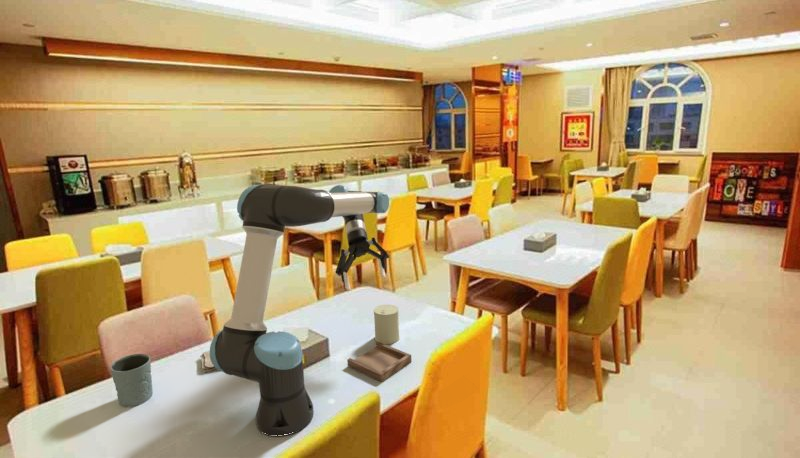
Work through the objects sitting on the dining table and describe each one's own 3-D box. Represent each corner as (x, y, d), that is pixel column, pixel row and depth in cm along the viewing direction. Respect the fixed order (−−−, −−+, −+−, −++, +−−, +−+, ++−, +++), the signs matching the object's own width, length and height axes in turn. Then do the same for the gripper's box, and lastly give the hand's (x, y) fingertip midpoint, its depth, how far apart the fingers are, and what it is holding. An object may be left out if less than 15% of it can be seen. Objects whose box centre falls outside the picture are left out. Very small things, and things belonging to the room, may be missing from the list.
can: (371, 342, 158) (369, 312, 155) (379, 331, 167) (378, 302, 164) (395, 345, 156) (394, 314, 153) (402, 333, 164) (401, 304, 161)
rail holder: (381, 382, 133) (381, 374, 133) (347, 366, 143) (347, 359, 142) (411, 361, 145) (411, 354, 144) (378, 348, 154) (378, 341, 153)
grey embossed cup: (121, 392, 132) (114, 357, 129) (159, 385, 135) (152, 350, 133) (113, 412, 123) (105, 374, 120) (153, 403, 126) (146, 367, 123)
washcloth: (200, 359, 151) (199, 351, 150) (253, 346, 159) (252, 338, 158) (203, 375, 141) (201, 367, 140) (259, 361, 149) (258, 352, 148)
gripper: (390, 228, 164) (402, 275, 152) (331, 250, 168) (338, 298, 156) (383, 217, 158) (395, 266, 146) (322, 241, 162) (328, 290, 150)
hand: (365, 283), depth 151 cm, fingers open, 13 cm apart
